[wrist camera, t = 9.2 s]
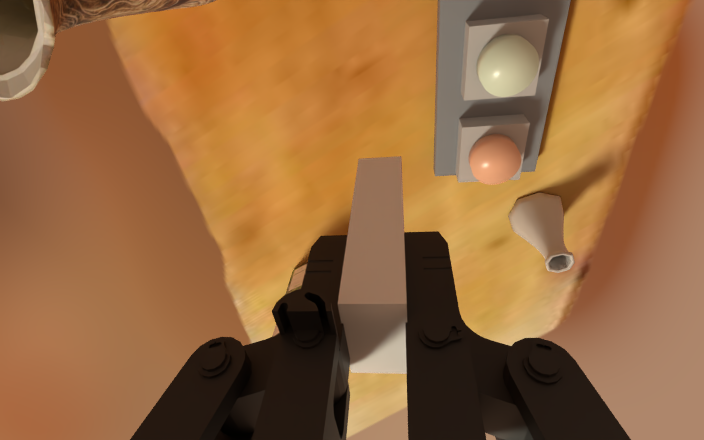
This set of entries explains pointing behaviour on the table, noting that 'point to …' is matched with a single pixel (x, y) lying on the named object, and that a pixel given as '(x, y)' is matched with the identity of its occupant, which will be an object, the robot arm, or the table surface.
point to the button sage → (507, 65)
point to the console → (468, 92)
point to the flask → (543, 228)
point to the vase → (54, 32)
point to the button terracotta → (494, 159)
